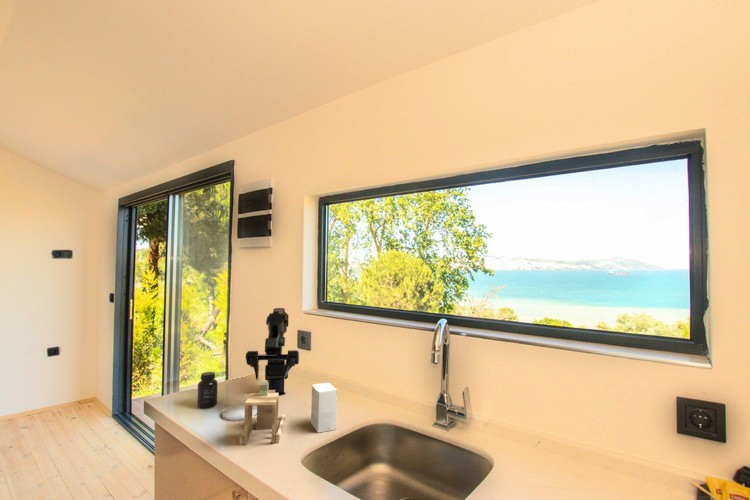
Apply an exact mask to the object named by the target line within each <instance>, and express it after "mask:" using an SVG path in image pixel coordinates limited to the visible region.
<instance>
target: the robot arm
mask: <svg viewBox="0 0 750 500" xmlns="http://www.w3.org/2000/svg"><path fill="white" fill-rule="evenodd" d="M265 323H266V325H267V331H268V335H267V338H265V340H264V342H265V343H264V353H263V354H260V353H259V350H247V352H246V353H245V362H246V365H247V366H250V368H253V371H254V373H255V374H254V375H255V380H256V381H258V380H259V379H258V378H259V369H260V365H259V364H260V363H259V362H260V361H267V363H266V365H265V368H264V378H265V379H264V380H265V381H266V382H269V387H268V390H275V393H279V396H282V395H286V392H285V380H287V379H288V378H289V373H290V372H289V371H290V370H291V369H292V368H293V367H295V366H296V365H298V364H299V362H300V352H299V351H298V350H297V349H296V350H295V349H294V350H293V349H292V350H287V354H286V353H283V347H285V346H286V345H285V344H286V337H285V336H284V335H285V334H286V333H287V329H288V328H289V314H288V313H287V312H286V309H285V308H284V307H283V308H282V307H276V308H273V311H272V313H271V312H269V314H268V315H267V316H266V321H265Z"/></svg>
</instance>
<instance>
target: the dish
mask: <svg viewBox="0 0 750 500" xmlns="http://www.w3.org/2000/svg"><path fill="white" fill-rule="evenodd" d="M252 416H254V417H257V405H253V406H252ZM221 417H222V419H223V420H225V421H230V422H241V421H244V418H245V403H241V404H234V405H231V406H227V407H226V408H224V409H223V410H222V412H221Z"/></svg>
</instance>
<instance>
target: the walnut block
mask: <svg viewBox="0 0 750 500" xmlns="http://www.w3.org/2000/svg"><path fill="white" fill-rule="evenodd" d="M268 393H275V390H268ZM256 406H257V415H256V417H257V420H256V431H267V430H268V431H269V430H270V431H272V408H273V405H256Z"/></svg>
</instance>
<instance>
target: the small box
mask: <svg viewBox="0 0 750 500" xmlns="http://www.w3.org/2000/svg"><path fill="white" fill-rule="evenodd" d="M337 392H338V390H337V388H336V387H334V385H332V384H331V383H330V382H324V383H315V384H311V409H310V410H311V414H310V415H311V417H310V424H311V425H312V427H313V428H314V429H315V431H316V432H317V433H318V434H321V433H325V432H331V431H335V430H337V407H338V406H337V402H338V401H337V400H338V399H337V396H338V393H337Z"/></svg>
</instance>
